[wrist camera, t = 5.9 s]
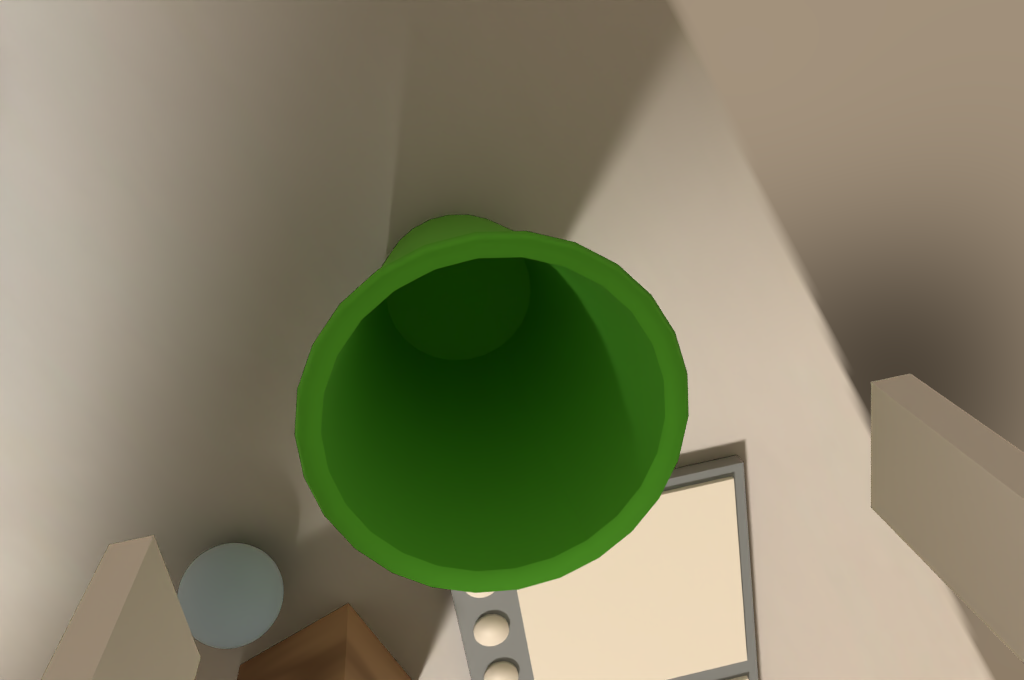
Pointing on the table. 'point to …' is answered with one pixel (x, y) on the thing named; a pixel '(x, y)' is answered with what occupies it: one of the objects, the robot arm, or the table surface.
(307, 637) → the walnut block
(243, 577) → the dusty blue ball
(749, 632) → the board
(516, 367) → the cup
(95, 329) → the table surface
